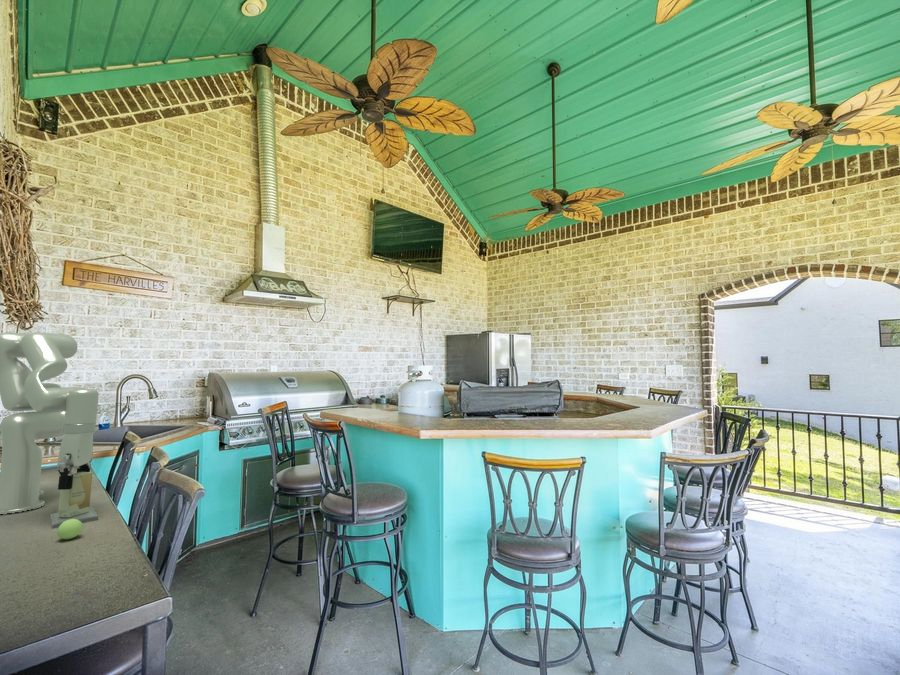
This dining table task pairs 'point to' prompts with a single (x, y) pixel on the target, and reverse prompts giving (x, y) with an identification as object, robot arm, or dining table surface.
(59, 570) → the dining table surface
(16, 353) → the robot arm
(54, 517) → the metal tray
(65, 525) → the lime
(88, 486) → the skincare box
